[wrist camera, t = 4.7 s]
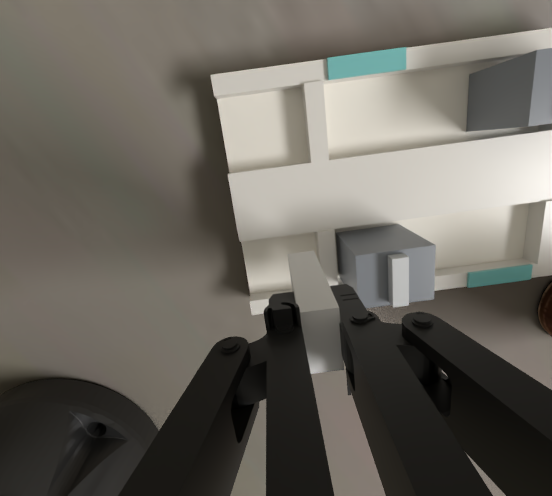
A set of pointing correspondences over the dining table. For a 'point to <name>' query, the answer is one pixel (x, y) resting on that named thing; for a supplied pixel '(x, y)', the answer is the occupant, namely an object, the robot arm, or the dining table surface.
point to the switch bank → (385, 163)
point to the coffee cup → (546, 310)
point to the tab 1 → (387, 265)
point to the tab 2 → (512, 93)
